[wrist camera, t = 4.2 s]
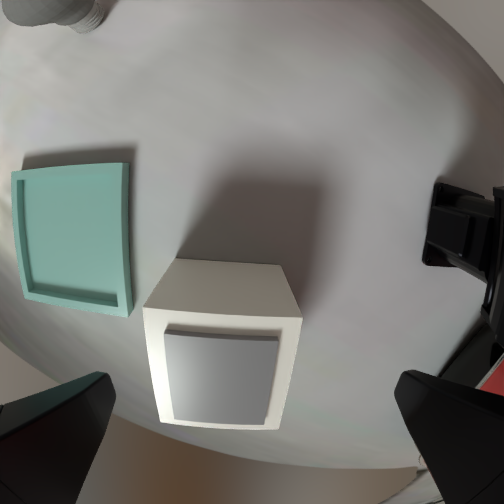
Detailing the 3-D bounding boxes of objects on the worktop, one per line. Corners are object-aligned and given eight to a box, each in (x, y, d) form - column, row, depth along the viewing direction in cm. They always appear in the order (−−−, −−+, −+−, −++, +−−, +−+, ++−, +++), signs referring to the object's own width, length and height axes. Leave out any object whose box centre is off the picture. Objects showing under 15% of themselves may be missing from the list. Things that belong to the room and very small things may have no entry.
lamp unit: (280, 265, 19) (304, 322, 11) (267, 363, 21) (278, 436, 14) (174, 258, 18) (139, 311, 11) (178, 358, 20) (160, 429, 13)
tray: (129, 162, 16) (122, 162, 15) (133, 309, 19) (128, 317, 18) (20, 170, 15) (11, 171, 14) (32, 292, 18) (24, 298, 17)
